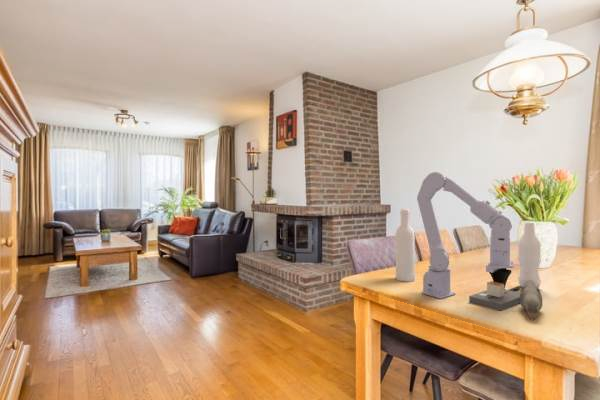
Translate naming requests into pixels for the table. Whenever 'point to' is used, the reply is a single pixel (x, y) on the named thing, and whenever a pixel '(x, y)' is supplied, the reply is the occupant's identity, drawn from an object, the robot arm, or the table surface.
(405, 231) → the bottle
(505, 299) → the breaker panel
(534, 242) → the water bottle
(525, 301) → the decorative bird
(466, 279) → the table surface
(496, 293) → the handle
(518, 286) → the twin grey rods
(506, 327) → the table surface
